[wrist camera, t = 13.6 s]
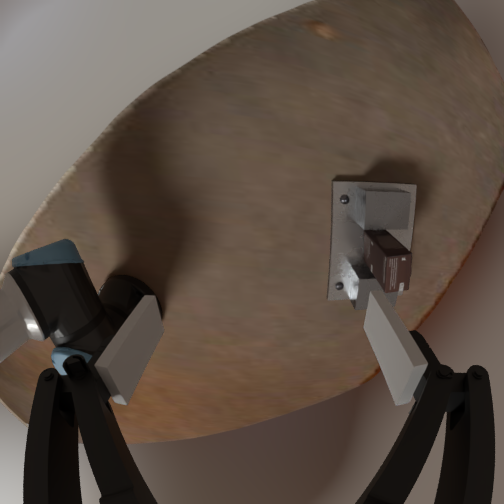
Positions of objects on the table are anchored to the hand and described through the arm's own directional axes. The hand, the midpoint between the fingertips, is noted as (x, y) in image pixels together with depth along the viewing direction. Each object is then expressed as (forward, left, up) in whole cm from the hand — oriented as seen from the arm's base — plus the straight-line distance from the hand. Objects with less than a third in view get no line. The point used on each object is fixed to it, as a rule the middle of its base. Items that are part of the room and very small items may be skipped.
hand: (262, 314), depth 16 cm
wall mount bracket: (+19, -7, -32) cm, 38 cm away
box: (+19, -7, -31) cm, 37 cm away
